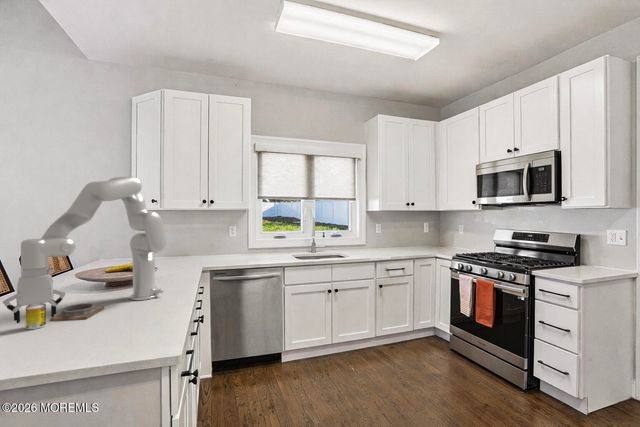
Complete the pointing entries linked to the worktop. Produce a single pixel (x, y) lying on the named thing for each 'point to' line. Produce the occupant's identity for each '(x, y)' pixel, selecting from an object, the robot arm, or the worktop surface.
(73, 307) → the rosette collar
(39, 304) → the supplement bottle
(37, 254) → the robot arm
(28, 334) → the worktop surface
